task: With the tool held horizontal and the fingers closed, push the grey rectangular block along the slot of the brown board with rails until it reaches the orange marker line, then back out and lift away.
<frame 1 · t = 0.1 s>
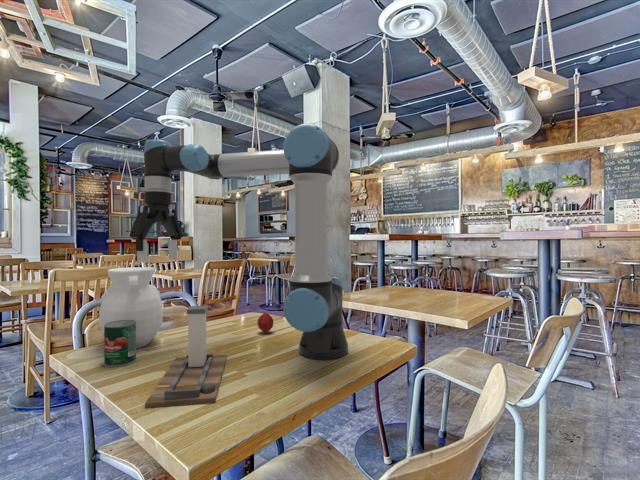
hand: (158, 261, 109), 28 cm above the table, tool pointing down, fingers open, 13 cm apart
grey rectangular block: (197, 335, 95), point 9 cm above the table, slide at 0.0 cm
canned tomato: (120, 362, 100), on the table
brown board with rails: (192, 378, 88), on the table
pitcher: (132, 345, 116), on the table
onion: (265, 333, 131), on the table
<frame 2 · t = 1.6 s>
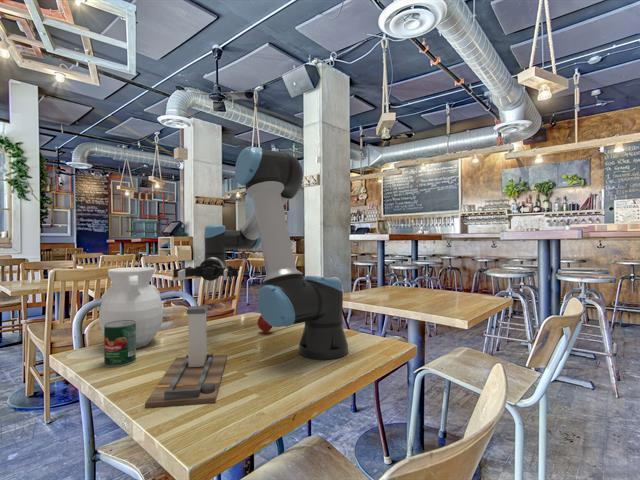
hand: (202, 275, 103), 24 cm above the table, tool horizontal, fingers open, 12 cm apart
nothing on the table moved.
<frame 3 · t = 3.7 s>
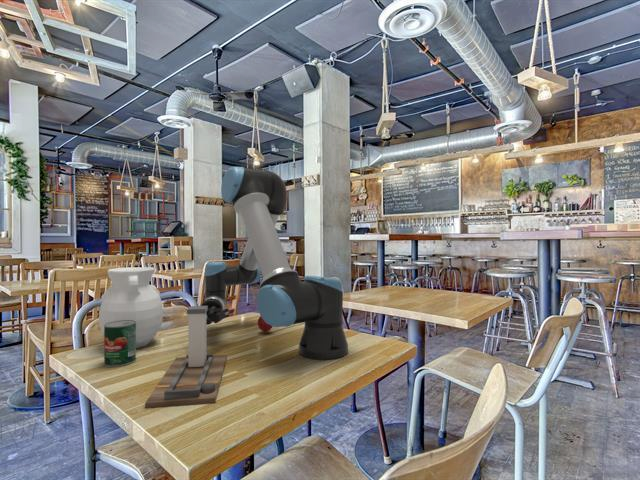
hand: (201, 325, 101), 10 cm above the table, tool horizontal, fingers closed
nothing on the table moved.
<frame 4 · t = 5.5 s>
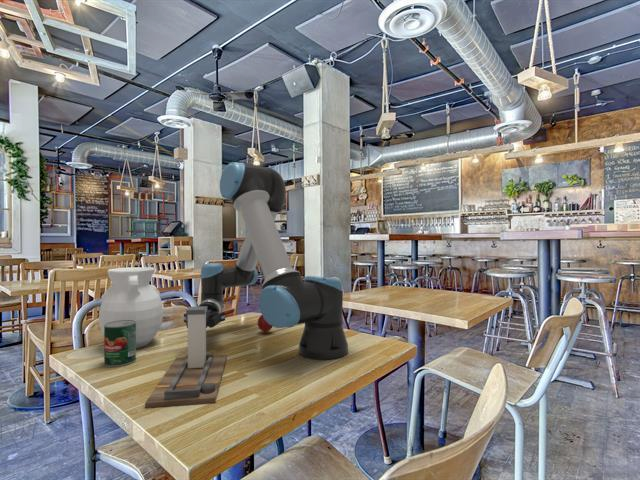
hand: (195, 330, 96), 10 cm above the table, tool horizontal, fingers closed
grey rectangular block: (197, 336, 94), point 9 cm above the table, slide at 0.8 cm, touching gripper
everything else where it was.
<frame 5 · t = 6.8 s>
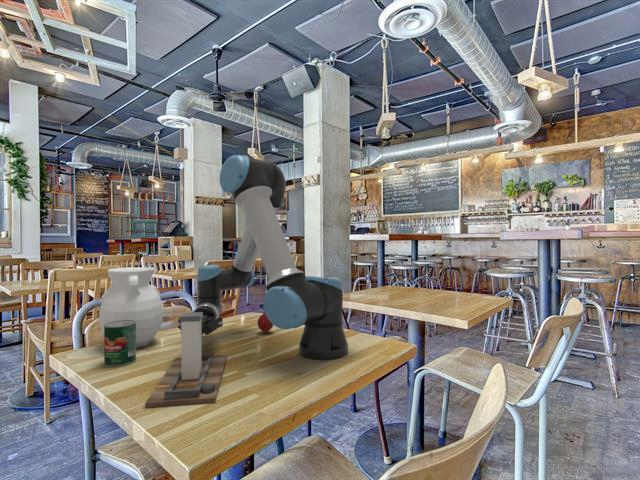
hand: (189, 338, 89), 10 cm above the table, tool horizontal, fingers closed
grey rectangular block: (191, 345, 87), point 9 cm above the table, slide at 8.4 cm, touching gripper
everything else where it was.
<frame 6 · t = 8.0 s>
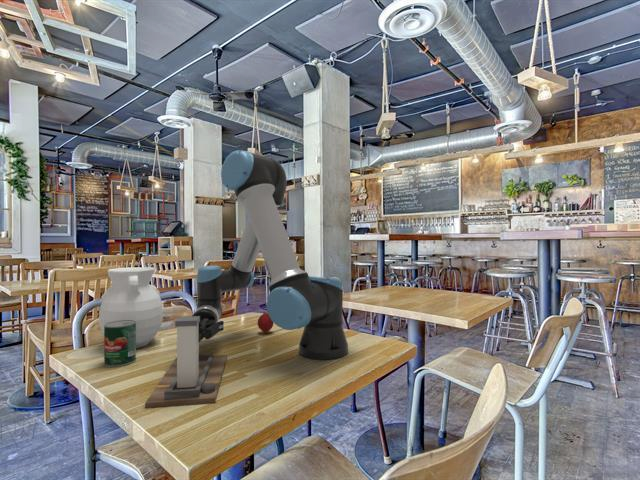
hand: (189, 343, 85), 10 cm above the table, tool horizontal, fingers closed
grey rectangular block: (188, 351, 82), point 9 cm above the table, slide at 13.0 cm, touching gripper
everything else where it was.
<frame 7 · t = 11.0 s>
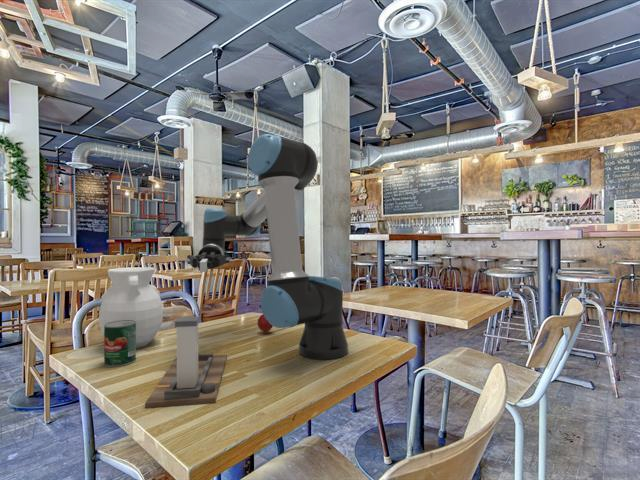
hand: (202, 267, 95), 27 cm above the table, tool horizontal, fingers closed
grey rectangular block: (187, 351, 82), point 9 cm above the table, slide at 13.3 cm
everything else where it was.
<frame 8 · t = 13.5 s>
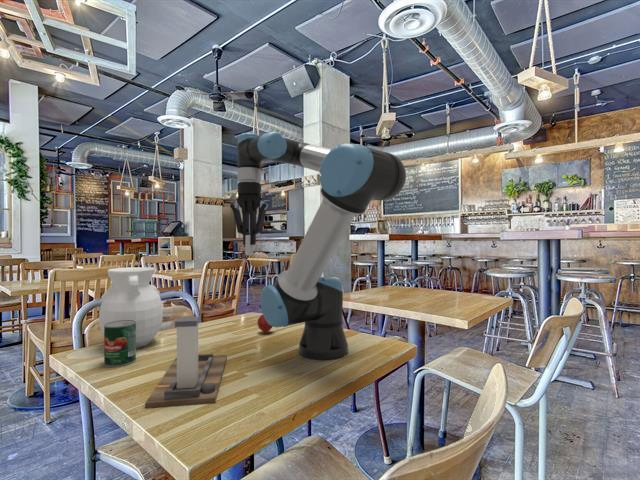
hand: (249, 255, 116), 29 cm above the table, tool pointing down, fingers closed
nothing on the table moved.
at the end: grey rectangular block slide at 13.3 cm; grey rectangular block touching nothing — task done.
